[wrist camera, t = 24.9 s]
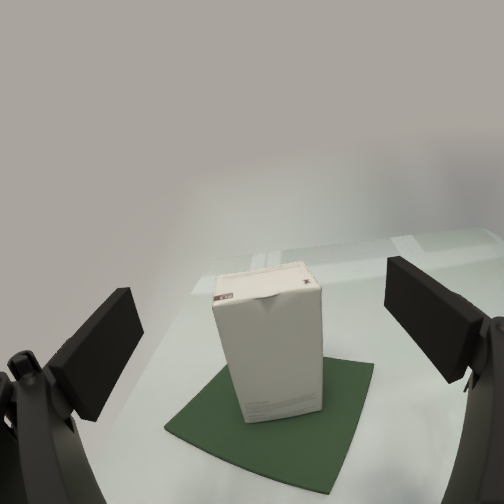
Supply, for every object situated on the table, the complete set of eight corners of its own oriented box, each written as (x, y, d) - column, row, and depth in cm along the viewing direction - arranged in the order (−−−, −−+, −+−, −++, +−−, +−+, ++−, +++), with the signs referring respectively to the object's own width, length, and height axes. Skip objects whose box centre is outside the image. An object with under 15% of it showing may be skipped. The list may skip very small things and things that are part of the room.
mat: (165, 429, 24) (163, 426, 24) (248, 345, 38) (247, 341, 38) (328, 495, 15) (329, 492, 15) (373, 366, 29) (374, 363, 29)
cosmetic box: (310, 377, 29) (306, 257, 25) (323, 414, 23) (327, 283, 19) (239, 388, 29) (215, 270, 25) (240, 427, 23) (209, 300, 19)
